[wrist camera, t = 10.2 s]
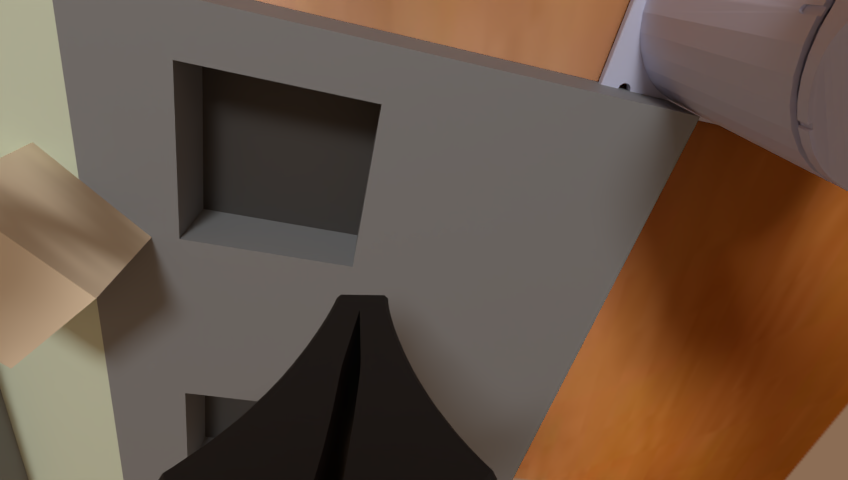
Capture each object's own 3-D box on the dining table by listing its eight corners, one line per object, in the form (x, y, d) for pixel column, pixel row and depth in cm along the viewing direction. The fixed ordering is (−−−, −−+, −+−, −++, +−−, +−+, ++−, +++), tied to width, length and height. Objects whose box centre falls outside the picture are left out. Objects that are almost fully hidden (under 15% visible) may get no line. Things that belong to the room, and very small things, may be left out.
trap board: (661, 96, 20) (724, 129, 16) (482, 480, 33) (493, 548, 29) (-91, -81, 16) (-250, -96, 12) (45, 437, 29) (-10, 510, 25)
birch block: (151, 237, 19) (95, 298, 16) (77, 299, 20) (11, 368, 17) (32, 141, 17) (-63, 188, 13) (-42, 218, 18) (-146, 279, 15)
